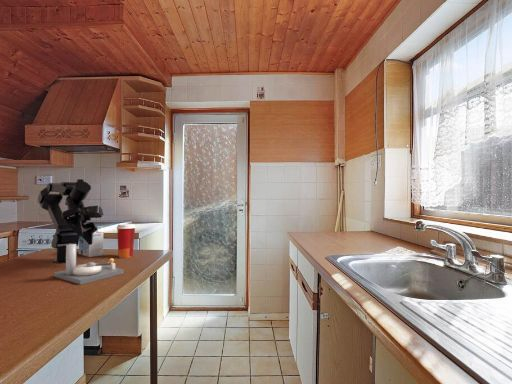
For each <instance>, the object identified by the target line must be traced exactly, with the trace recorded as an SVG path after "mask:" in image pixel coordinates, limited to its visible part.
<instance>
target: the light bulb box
mask: <svg viewBox="0 0 512 384" xmlns="http://www.w3.org/2000/svg"><path fill="white" fill-rule="evenodd" d="M78 254H79V255H82V256H84V257H88V258H93V257H99V256H103V255H104V232H101V231H98V230H97V231H96V232H94V233H93V242H92V244H91V245H89V244H88V243H87V242H86V241H85V240H84V238H83V237H82V236H81V237H79V242H78Z"/></svg>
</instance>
